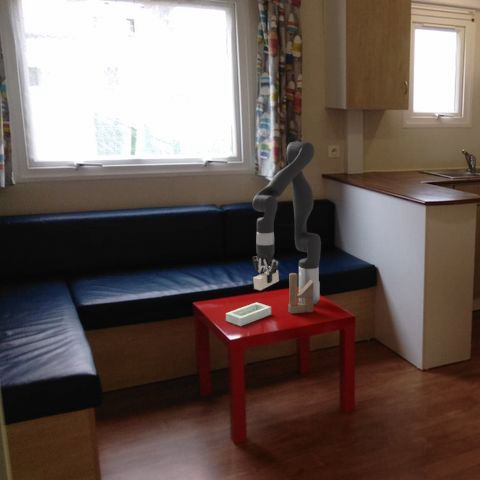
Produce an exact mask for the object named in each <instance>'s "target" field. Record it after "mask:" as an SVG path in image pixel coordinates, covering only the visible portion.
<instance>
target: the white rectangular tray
mask: <svg viewBox="0 0 480 480" xmlns="http://www.w3.org/2000/svg"><path fill="white" fill-rule="evenodd" d="M270 315H272V306H269V305H266V304H263V303H259V302H254V303H251V304H249V305H248V304H247V305H246V306H245V305H244V306H243V307H239V308H237V309H234V310H231V311H229V312H226V313H225V321H226V322H229V323H231V324H233V325H236V326H239V327H242V326H245V325H248V324H250V323H252V322H255V321H257V320H260V319H263V318H265V317H268V316H270Z"/></svg>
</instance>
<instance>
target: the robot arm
mask: <svg viewBox="0 0 480 480" xmlns="http://www.w3.org/2000/svg"><path fill="white" fill-rule="evenodd" d="M314 156H315V147H314V145H313V144H312V143H311V142H308V141H292V142H289V143H288V145H287V147H286V159H287V165H286V166H285V167H284V168H282V169H281V170H279V171H278V172H277V173H276V174H275V175H274V176H273V177H272V179H271V180H270V181H269V183H268V184H267V185H266V186H265V187H263V189H261V190H260V191H259V192H257V194H255V196H254V197H253V199H252V202H251V203H252V208H253V210H254V211H256V212H260V213H264V215H263V216H262V217H258V218H257V220H256V236H255V237H256V239H255V241H256V243H255V244H256V250H255V251H256V254H257V255H256V256H252V258H251V259H252V263H253V267H254V270H255V271H257V272H258V273H259V274H258V275H260V274H262V273H264V272H265V271H267V283H271V282H272V274H274V273H276V271H277V270H278V268H279V264H280V261H279V260H276V259H275V257H274V254H275V234H274V233H275V232H274V227H275V226H274V221H275V220H276V213H277V210H278V205H279V204H278V201H277V198H280V196H282V195H283V193H284V192H285V191H286V189H287V187H288V186H289V185H291V191H292V193H291V195H292V204H293V205H292V206H293V215H294V216H293V217H294V245H295V248H296V251H299V252H302V253H307V256H306V257H305V258H301V259H300V260H299V261H298V293H299V292H300V291H301V290H302V289H303V287H304V286H305V285H306V284H307V283H308V282H309V281H310V280H312V281H313V305H316V304H318V303H319V301H320V295H321V293H320V288H321V287H320V286H321V285H320V284H321V283H320V281H319V273H320V271H319V269H320V268H319V267H320V265H319V264H320V260H321V250H322V247H321V246H322V242H321V236H320V235H319V234H317V233H312V232H307V231H308V230H307V221H308V219H309V216H310V214H311V212H312V211H313V208H314V203H315V201H314V193H313V189H312V187H311V185H310V183H309V182H308V180H307V178H306V177H305V175H304V172H303V170H304V168H306V167H307V166H308V164H310V162H311V161H312V160H313V159H314ZM269 270H270V271H269ZM298 303H302V304H304V298H298Z"/></svg>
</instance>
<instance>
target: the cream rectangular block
mask: <svg viewBox="0 0 480 480" xmlns="http://www.w3.org/2000/svg"><path fill="white" fill-rule="evenodd" d="M269 271H270V269H269ZM279 276H280V275H279V269H277V271H276V273H274V274H272V282H271V283H267V270H265V271H264V273H262V274H260V275H259V274H258V275H256V276H253V277H252V279H253V280H252V281H253V290H257V291H263V290H264V289H266V288H268V287H270V286H272V285H274V284H276V283H278V282H279V281H280V279H279Z"/></svg>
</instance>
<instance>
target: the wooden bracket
mask: <svg viewBox="0 0 480 480" xmlns="http://www.w3.org/2000/svg"><path fill="white" fill-rule="evenodd" d="M288 275H289V276H288V277H289V278H288V279H289V280H288V282H289V283H288V284H289V285H288V286H289V290H288V291H289V293H288V294H289V296H288V297H289V302H288V305H287V308H288V309H287V311H288V313H289V314H302V313H303V314H304V313H313V312H314V304H313V281H312V280H310V281H309V282H308V283H307V284H306V285H305V286H304V287H303V289H302V290H301V291H300V292H299V291H298V273H296V272H291V273H289V274H288ZM299 298H304V304H302V303H300V302H298V299H299Z"/></svg>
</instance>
